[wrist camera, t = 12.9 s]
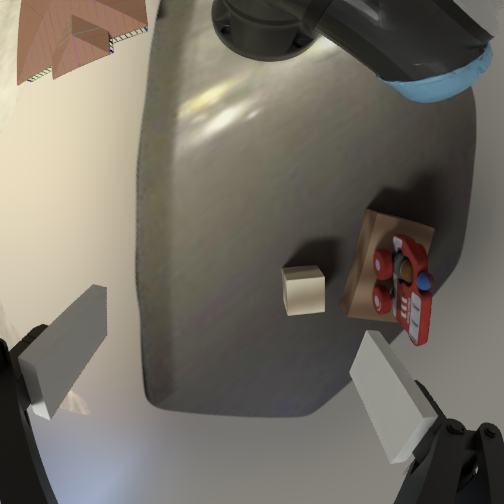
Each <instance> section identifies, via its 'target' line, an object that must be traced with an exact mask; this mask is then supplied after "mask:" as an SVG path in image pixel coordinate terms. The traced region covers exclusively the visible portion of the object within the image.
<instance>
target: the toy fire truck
mask: <svg viewBox="0 0 504 504" xmlns="http://www.w3.org/2000/svg"><path fill="white" fill-rule="evenodd" d="M392 242H393V254H392V257H391V254H390V252H389V251H388V250H387V249H385V248H383V249H378V250H376V251H375V252H374V255H373V266H374V271H375V274H376V276H377V277H378V279H380V280H385V279H389V278H391V277H392V275H393V290H392V292H391V294H390V292H389V290H388V288H387V286H386V285H383V284H382V285H377V286H375V287H374V288H373V291H372V300H373V305H374V309H375V311H376V313H377V314H379V315H383V314H388V313H389V312H390V310H391V307H392V311H393V316H394V317H395V319H396V320H397V321H398V322H399V323H400V325H401V326H402V327H403V328H404V329H405V330H406V331H407V333H408V335H409V337H410V340H411V341H412V342H413V344H414V345H415V346H420V345H423V344H425V343H426V342H427V340H428V332H429V325H430V315H431V304H432V296H431V293H430V291H429V290H428V289H430V288H431V287H432V286H433V283H434V279H433V276H432V275H431V274H430V273H429V272H428V257H427V252H426V250H425V248H424V246H423V245H422V244H420V243H416V242H415V240H414V239H413V238H411V237H409V236H407V235H405V234H395V235H394V236H393V240H392ZM391 301H392V302H391Z"/></svg>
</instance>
